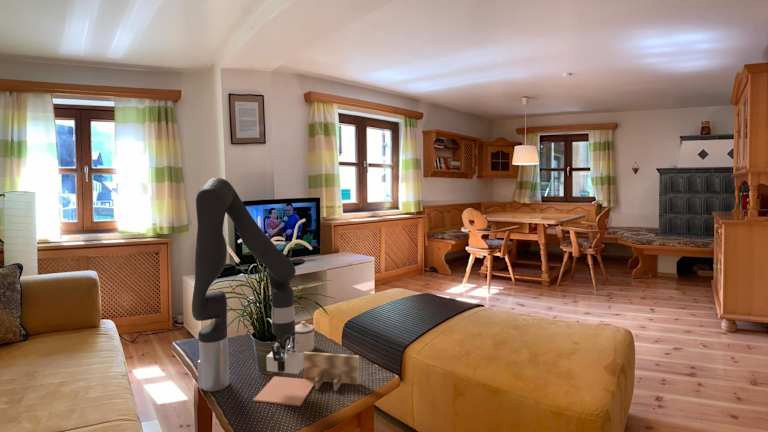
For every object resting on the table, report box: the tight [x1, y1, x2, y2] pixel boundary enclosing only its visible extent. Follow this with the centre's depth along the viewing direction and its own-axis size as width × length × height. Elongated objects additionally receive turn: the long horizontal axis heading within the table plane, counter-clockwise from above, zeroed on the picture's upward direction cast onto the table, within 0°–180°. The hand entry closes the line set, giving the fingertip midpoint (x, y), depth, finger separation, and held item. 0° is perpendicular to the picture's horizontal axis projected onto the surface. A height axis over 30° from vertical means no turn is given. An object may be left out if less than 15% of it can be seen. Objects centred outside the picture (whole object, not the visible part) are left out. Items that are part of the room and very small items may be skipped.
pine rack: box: [303, 351, 360, 393], centre depth 152 cm, size 20×7×10 cm, turn 80°
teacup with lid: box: [293, 320, 315, 353], centre depth 182 cm, size 12×9×12 cm
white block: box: [265, 351, 304, 375], centre depth 147 cm, size 5×11×5 cm, turn 78°
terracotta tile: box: [252, 375, 315, 407], centre depth 149 cm, size 16×16×1 cm
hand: (284, 367), depth 147 cm, fingers closed on white block, 5 cm apart
